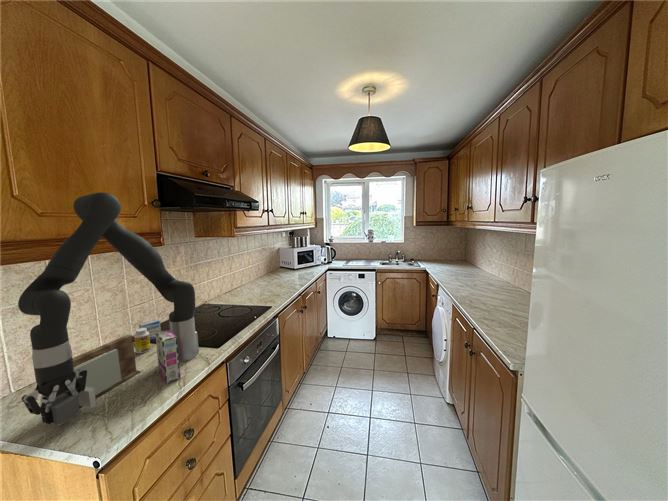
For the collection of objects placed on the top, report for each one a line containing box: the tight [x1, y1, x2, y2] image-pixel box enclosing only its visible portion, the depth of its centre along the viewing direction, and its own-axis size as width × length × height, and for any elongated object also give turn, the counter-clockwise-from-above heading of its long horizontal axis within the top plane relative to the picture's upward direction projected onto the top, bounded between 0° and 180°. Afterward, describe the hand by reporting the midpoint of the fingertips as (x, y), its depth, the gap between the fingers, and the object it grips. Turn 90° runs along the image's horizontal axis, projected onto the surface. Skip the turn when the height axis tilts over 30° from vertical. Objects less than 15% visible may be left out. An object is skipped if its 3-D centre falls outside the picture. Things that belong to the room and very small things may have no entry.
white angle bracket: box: [66, 349, 121, 409], centre depth 89 cm, size 16×8×12 cm, turn 165°
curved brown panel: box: [48, 334, 141, 410], centre depth 92 cm, size 26×4×15 cm, turn 165°
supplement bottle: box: [133, 328, 152, 354], centre depth 122 cm, size 6×6×10 cm
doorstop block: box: [51, 394, 81, 426], centre depth 77 cm, size 5×6×5 cm
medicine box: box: [138, 318, 162, 342], centre depth 135 cm, size 8×4×9 cm, turn 143°
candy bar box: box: [155, 328, 181, 384], centre depth 102 cm, size 11×5×16 cm, turn 45°
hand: (61, 415), depth 77 cm, fingers closed on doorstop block, 5 cm apart
